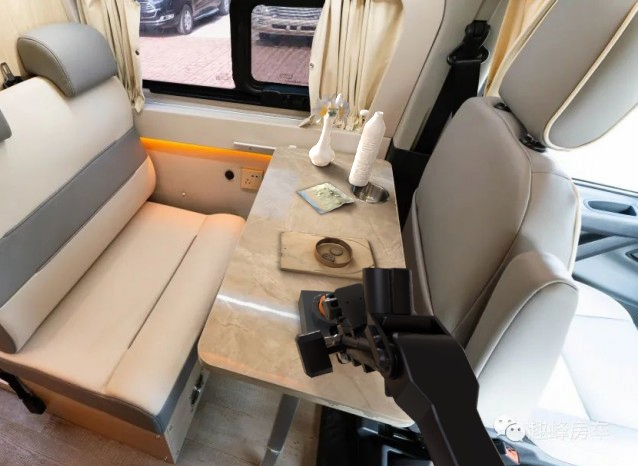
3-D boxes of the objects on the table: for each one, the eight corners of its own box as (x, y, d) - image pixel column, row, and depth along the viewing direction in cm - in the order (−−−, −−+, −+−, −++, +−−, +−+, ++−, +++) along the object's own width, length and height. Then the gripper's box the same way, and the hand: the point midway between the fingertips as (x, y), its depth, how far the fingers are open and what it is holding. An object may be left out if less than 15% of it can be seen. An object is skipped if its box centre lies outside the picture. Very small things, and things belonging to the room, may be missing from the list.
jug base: (351, 352, 69) (361, 334, 64) (303, 349, 69) (309, 331, 64) (340, 305, 77) (347, 286, 73) (297, 302, 78) (302, 284, 73)
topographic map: (328, 182, 116) (329, 178, 115) (354, 202, 107) (356, 198, 106) (296, 193, 113) (296, 189, 112) (321, 214, 103) (321, 210, 102)
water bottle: (366, 178, 118) (389, 109, 102) (368, 187, 114) (392, 117, 97) (341, 175, 120) (360, 106, 103) (342, 184, 115) (361, 114, 99)
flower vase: (338, 153, 132) (355, 89, 115) (334, 176, 119) (351, 107, 103) (306, 148, 136) (317, 85, 119) (298, 170, 123) (309, 102, 106)
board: (368, 240, 94) (372, 232, 92) (379, 281, 83) (383, 273, 80) (280, 232, 97) (282, 224, 94) (279, 271, 85) (281, 262, 83)
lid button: (342, 318, 67) (344, 312, 66) (320, 317, 67) (322, 311, 66) (338, 300, 70) (340, 294, 69) (317, 299, 71) (319, 293, 69)
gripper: (424, 270, 45) (375, 277, 60) (293, 305, 44) (278, 303, 60) (456, 353, 43) (397, 338, 58) (319, 391, 42) (296, 366, 58)
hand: (341, 334), depth 58 cm, fingers closed
